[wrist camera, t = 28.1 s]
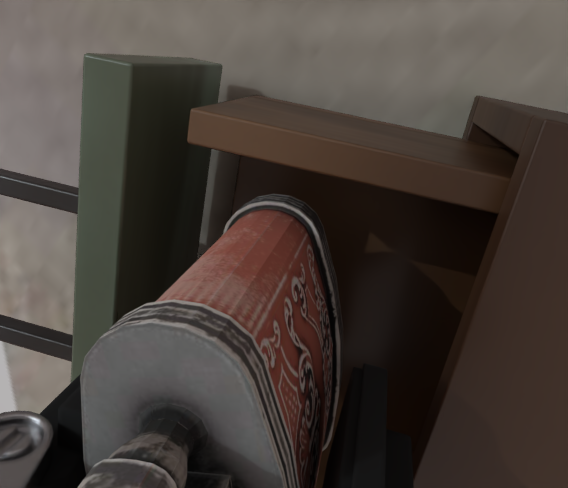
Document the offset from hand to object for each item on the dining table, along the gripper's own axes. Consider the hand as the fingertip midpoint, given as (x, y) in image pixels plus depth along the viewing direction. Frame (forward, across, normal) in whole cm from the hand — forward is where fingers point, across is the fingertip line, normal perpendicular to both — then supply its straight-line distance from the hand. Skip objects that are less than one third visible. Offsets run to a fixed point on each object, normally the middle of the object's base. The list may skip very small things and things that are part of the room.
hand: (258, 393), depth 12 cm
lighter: (+3, 0, 0) cm, 3 cm away
